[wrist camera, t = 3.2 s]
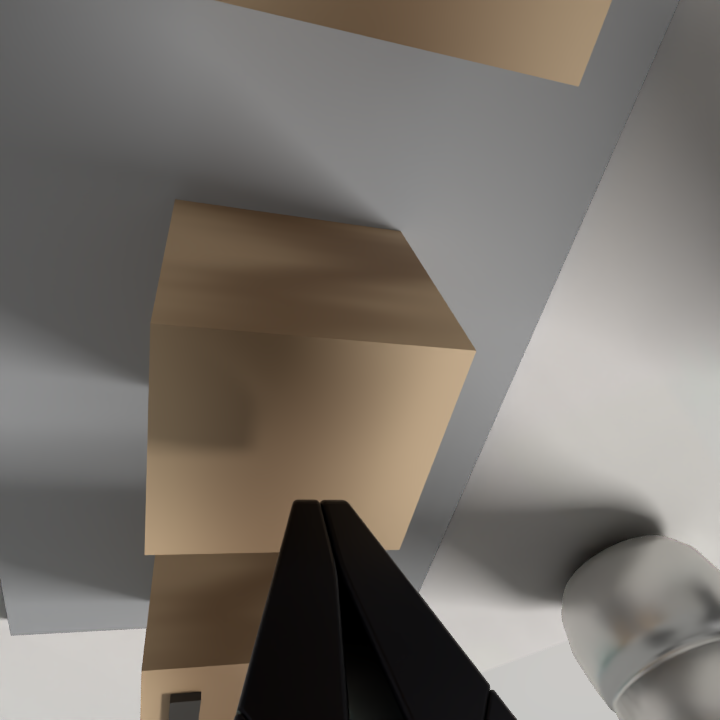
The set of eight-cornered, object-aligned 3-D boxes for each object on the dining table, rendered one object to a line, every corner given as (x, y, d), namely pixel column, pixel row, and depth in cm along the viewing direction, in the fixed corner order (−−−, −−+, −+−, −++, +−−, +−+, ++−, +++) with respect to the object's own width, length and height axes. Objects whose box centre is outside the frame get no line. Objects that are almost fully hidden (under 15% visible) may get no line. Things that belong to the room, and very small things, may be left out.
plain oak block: (400, 231, 13) (476, 350, 9) (355, 399, 16) (399, 549, 12) (175, 199, 12) (150, 323, 8) (166, 389, 15) (144, 555, 11)
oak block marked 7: (328, 499, 18) (360, 663, 14) (303, 596, 21) (322, 757, 17) (161, 499, 17) (140, 680, 13) (156, 601, 19) (138, 779, 15)
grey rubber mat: (811, -346, 9) (838, -360, 9) (405, 602, 23) (409, 614, 23) (-261, -938, 6) (-299, -1006, 5) (15, 621, 19) (11, 635, 19)
